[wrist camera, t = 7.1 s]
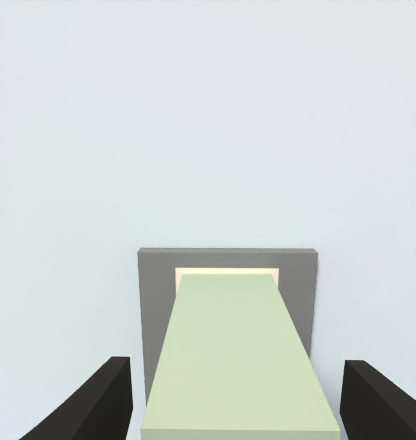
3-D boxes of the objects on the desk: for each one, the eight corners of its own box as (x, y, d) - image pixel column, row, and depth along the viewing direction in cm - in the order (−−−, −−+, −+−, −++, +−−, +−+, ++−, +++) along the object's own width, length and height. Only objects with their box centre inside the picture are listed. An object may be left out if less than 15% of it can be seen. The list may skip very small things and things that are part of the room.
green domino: (182, 273, 18) (140, 428, 8) (271, 273, 17) (340, 430, 8) (183, 299, 18) (144, 478, 8) (270, 299, 18) (335, 481, 8)
